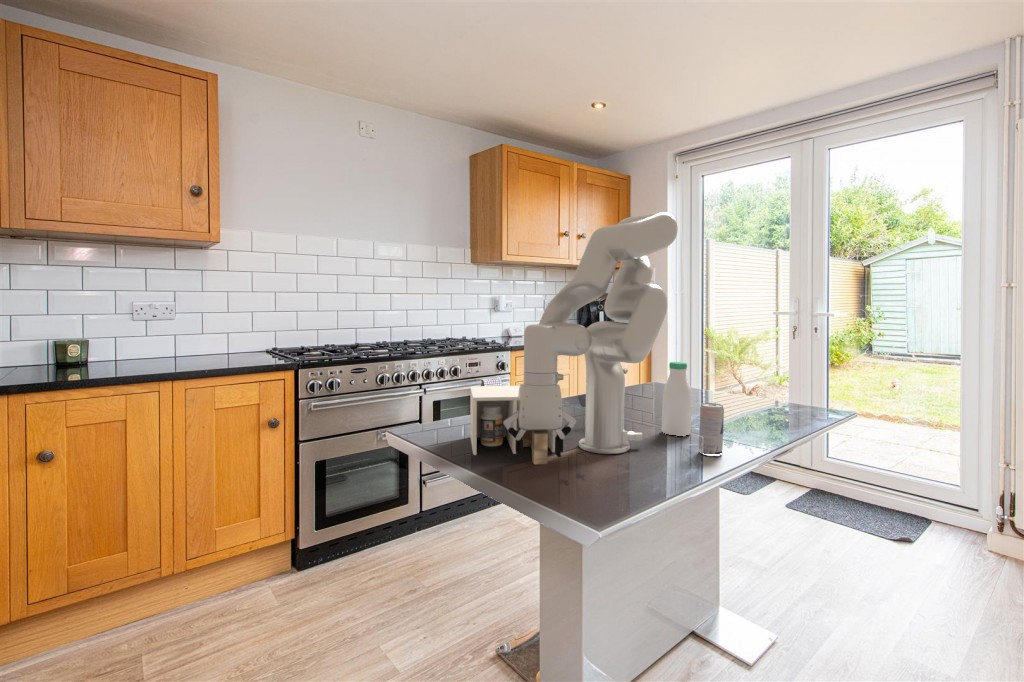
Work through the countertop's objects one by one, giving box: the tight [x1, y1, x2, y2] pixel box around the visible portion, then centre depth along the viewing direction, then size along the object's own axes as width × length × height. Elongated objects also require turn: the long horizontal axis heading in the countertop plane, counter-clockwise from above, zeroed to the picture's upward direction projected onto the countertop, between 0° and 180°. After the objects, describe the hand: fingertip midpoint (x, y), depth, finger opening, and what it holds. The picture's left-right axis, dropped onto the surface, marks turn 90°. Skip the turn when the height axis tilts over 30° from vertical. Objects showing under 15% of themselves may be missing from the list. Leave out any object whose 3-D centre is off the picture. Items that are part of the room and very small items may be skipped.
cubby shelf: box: [469, 385, 557, 456], centre depth 131 cm, size 20×16×14 cm
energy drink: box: [698, 402, 725, 454], centre depth 124 cm, size 5×5×12 cm
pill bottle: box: [480, 404, 504, 447], centre depth 132 cm, size 6×6×10 cm
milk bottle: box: [661, 361, 693, 436], centre depth 143 cm, size 8×8×20 cm
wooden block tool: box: [522, 430, 549, 465], centre depth 125 cm, size 5×19×7 cm, turn 7°
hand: (539, 455), depth 117 cm, fingers open, 8 cm apart
